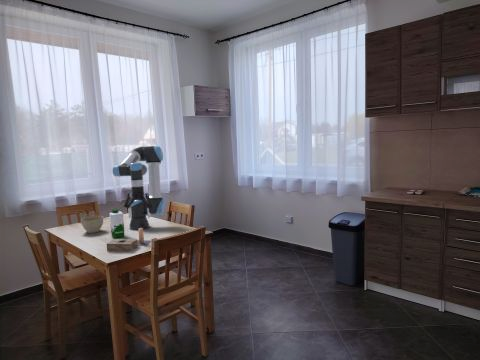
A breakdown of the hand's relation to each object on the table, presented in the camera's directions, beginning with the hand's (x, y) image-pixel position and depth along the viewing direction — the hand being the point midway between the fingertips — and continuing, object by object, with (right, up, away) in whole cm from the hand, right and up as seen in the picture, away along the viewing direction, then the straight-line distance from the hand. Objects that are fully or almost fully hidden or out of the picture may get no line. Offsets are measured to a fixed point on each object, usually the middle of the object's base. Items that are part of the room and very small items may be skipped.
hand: (139, 217), depth 223 cm
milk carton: (-22, -17, +20) cm, 34 cm away
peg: (+1, -18, +2) cm, 18 cm away
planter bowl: (-47, -15, +37) cm, 62 cm away
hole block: (-9, -20, -7) cm, 23 cm away
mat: (+1, -18, +2) cm, 18 cm away
